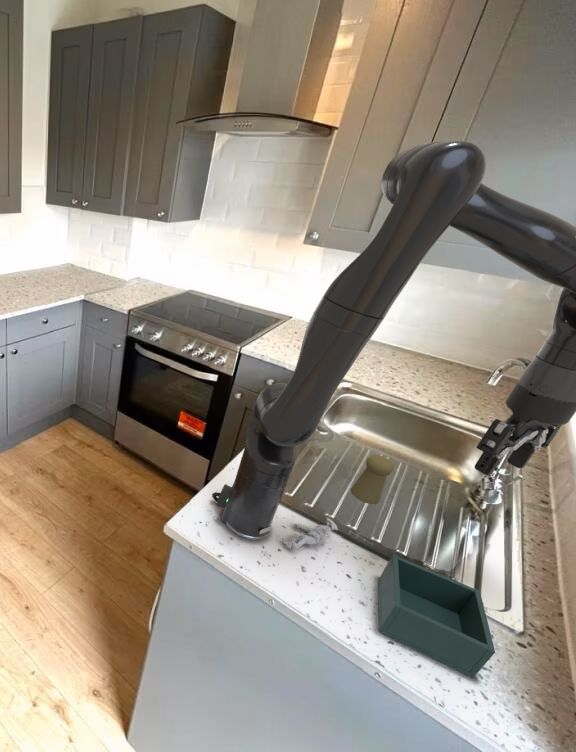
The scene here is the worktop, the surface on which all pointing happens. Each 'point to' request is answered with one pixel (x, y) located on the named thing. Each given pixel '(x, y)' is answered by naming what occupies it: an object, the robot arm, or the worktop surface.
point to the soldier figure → (311, 534)
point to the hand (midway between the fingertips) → (498, 468)
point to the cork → (372, 479)
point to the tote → (434, 616)
